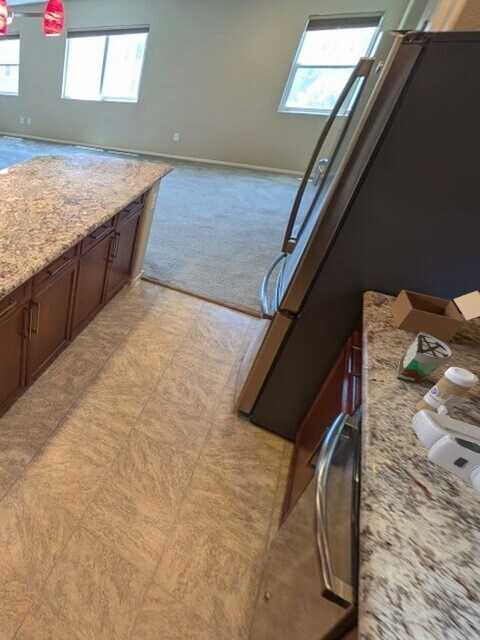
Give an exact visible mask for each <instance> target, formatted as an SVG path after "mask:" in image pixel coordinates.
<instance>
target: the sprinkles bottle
mask: <svg viewBox="0 0 480 640" xmlns="http://www.w3.org/2000/svg"><path fill="white" fill-rule="evenodd" d="M479 382H480V379H479V377H478V376H477V375H476V374H474V373H472V372H471V371H469V370H467V369H465V368H462V367H457V366H450V367H449V368H448V369H447V370H446V371H445V372H444V374H443V376H442V377H441V378H440V379H439V380H438V381H437V382H436V384H434V386H433V387H432V388H430V389H429V391H427V393H426V394H425V395H424V397H423V398H422V399H421V400H420V401H419V402H418V403H416V404H415V408H416V410H417V412H419V411H421V410H423V409H426V410H429V411H432V412H435V413H438V411H437V409H438V408H439V407H440V406H441V405H444V406H447V407H450V408H452V409H453V408H454V407H455V406H456V405H457V404H458V403H459V402H460V401H461V399H463V398H464V396H465V395H466V394H467V393H468V392H469V391H470V390H471V389H472V388H474V387H476V385H477V384H478V383H479Z"/></svg>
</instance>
